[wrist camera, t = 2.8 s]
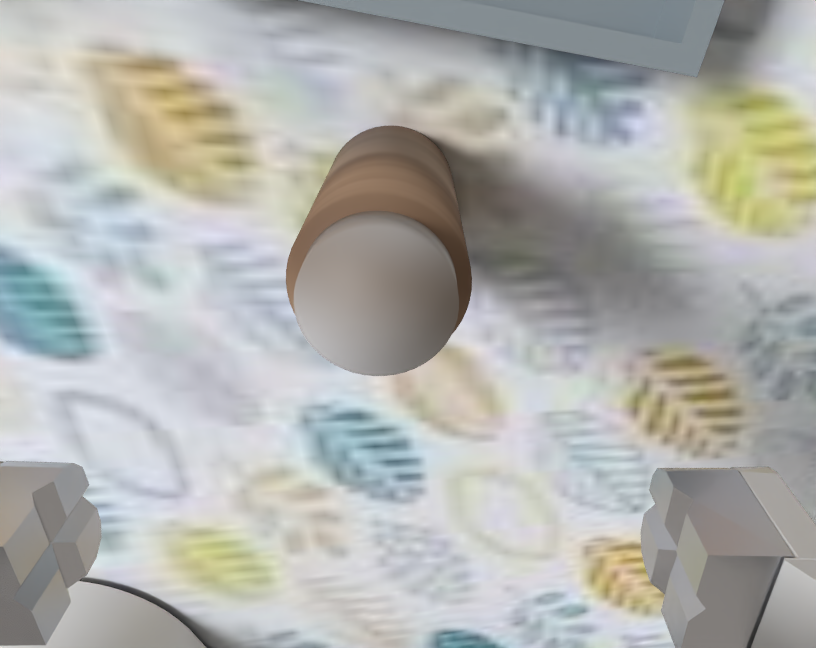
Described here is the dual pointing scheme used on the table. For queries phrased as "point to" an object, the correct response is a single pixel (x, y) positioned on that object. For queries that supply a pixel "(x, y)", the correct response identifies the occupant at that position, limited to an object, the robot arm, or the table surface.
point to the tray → (572, 25)
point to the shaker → (381, 256)
